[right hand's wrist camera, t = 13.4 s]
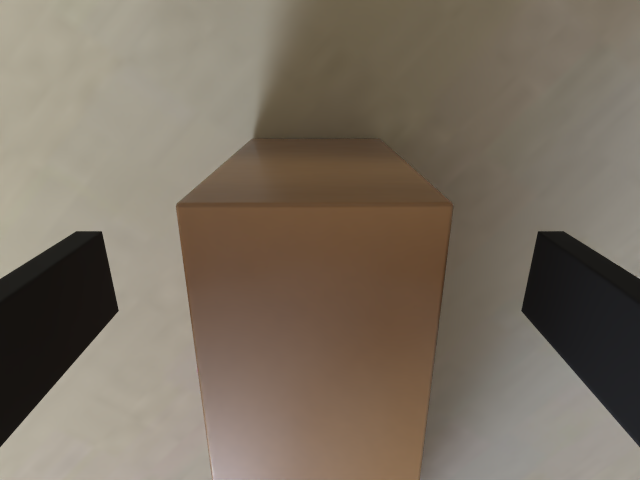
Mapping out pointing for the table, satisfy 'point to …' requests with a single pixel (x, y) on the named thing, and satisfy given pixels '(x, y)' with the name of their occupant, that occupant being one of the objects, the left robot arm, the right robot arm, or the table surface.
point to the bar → (315, 309)
